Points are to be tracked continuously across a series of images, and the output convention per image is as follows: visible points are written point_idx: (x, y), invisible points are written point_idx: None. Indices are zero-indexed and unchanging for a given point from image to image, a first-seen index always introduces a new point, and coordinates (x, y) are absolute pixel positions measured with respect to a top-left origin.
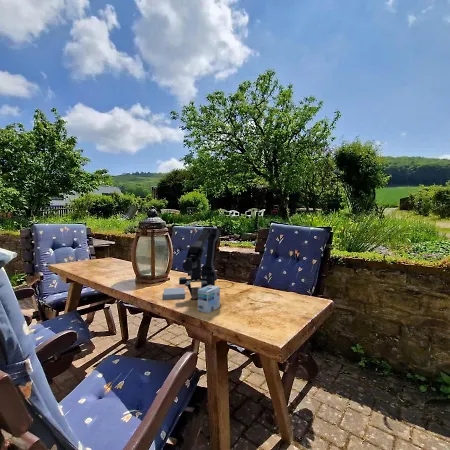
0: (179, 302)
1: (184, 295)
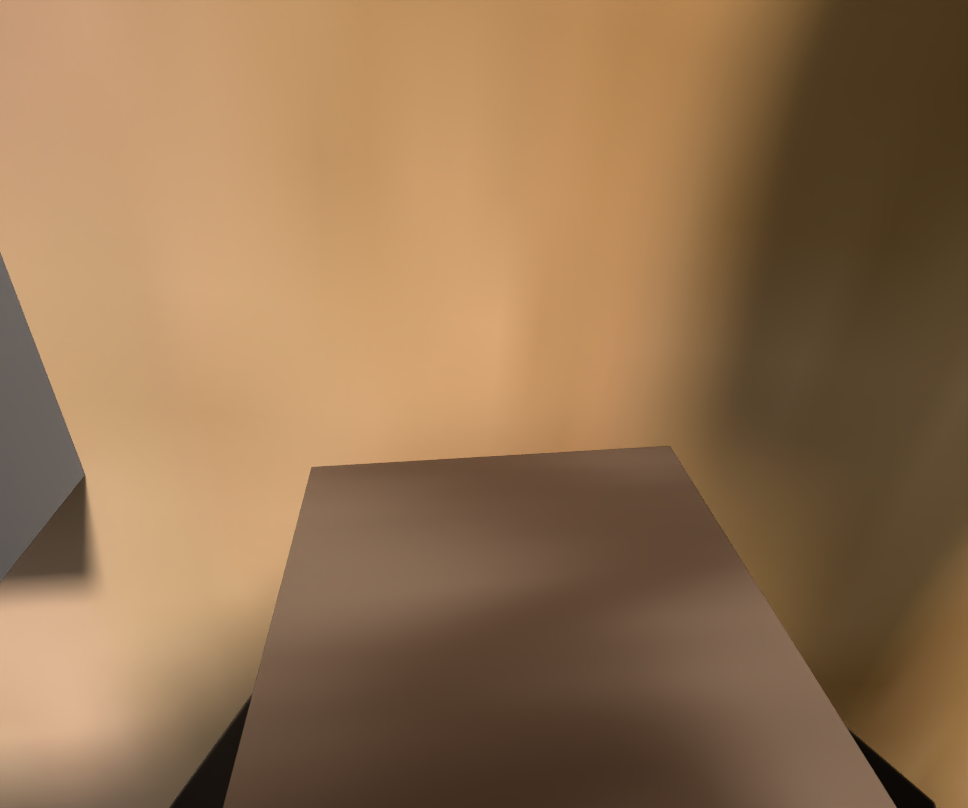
0: (16, 775)
1: (3, 545)
